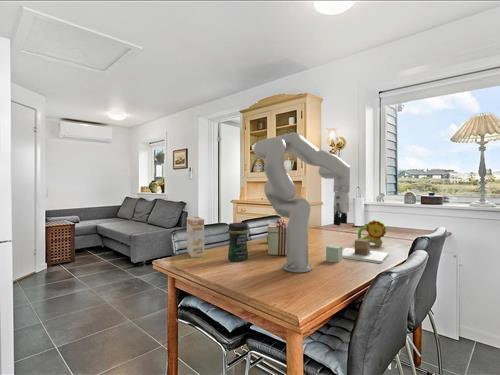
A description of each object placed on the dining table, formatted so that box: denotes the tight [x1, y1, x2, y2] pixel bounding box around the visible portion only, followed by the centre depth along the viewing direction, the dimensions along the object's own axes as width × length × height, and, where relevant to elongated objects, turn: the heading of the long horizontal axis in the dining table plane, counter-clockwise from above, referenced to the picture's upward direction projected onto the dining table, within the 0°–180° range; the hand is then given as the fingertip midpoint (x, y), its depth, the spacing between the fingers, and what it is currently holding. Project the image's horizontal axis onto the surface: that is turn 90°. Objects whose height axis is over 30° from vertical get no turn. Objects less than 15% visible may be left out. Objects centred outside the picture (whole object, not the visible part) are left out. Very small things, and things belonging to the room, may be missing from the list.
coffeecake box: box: [186, 216, 206, 259], centre depth 156 cm, size 15×7×20 cm, turn 22°
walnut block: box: [354, 238, 371, 256], centre depth 149 cm, size 6×6×7 cm
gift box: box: [267, 219, 288, 256], centre depth 160 cm, size 17×18×17 cm
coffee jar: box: [227, 222, 249, 262], centre depth 144 cm, size 10×8×19 cm
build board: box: [342, 247, 390, 264], centre depth 149 cm, size 18×22×1 cm
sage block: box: [325, 244, 343, 264], centre depth 141 cm, size 6×6×7 cm
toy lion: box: [357, 219, 387, 247], centre depth 174 cm, size 16×5×15 cm, turn 58°
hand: (340, 224), depth 142 cm, fingers open, 9 cm apart
